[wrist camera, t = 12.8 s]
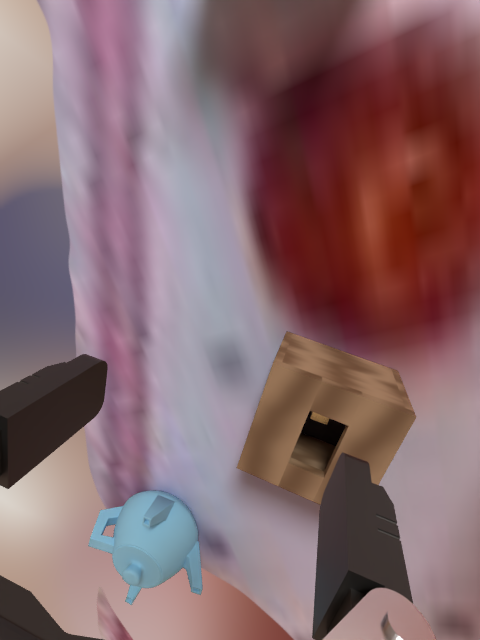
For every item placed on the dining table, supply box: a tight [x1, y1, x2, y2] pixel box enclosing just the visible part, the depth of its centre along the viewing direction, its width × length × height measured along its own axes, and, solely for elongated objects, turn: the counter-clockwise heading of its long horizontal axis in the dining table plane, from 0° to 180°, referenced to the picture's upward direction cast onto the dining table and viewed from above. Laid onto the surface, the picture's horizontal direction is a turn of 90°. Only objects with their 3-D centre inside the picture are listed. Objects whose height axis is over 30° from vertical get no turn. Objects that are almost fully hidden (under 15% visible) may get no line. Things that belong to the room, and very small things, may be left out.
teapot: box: [88, 490, 202, 605], centre depth 53 cm, size 15×15×11 cm
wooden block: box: [310, 411, 330, 425], centre depth 41 cm, size 2×5×4 cm
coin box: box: [237, 332, 416, 505], centre depth 39 cm, size 14×14×10 cm
